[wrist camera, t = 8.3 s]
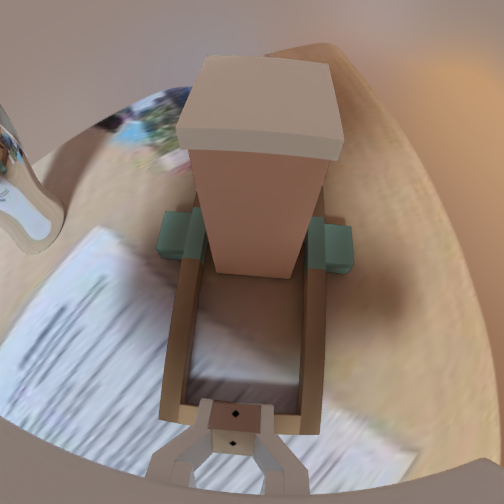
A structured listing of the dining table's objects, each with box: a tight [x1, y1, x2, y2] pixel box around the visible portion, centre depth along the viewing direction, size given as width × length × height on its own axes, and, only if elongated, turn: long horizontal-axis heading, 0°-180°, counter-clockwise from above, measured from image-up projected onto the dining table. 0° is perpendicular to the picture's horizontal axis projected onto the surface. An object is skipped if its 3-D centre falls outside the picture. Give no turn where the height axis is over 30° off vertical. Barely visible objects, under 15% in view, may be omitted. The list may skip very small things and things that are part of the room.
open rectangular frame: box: [156, 185, 354, 435], centre depth 21 cm, size 13×25×2 cm, turn 175°
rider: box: [175, 55, 345, 279], centre depth 16 cm, size 5×5×13 cm
